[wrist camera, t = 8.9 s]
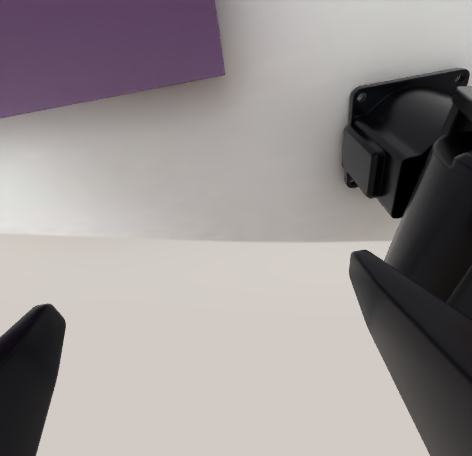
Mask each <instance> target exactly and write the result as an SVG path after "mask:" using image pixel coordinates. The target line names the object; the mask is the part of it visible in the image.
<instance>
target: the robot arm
mask: <svg viewBox="0 0 472 456" xmlns="http://www.w3.org/2000/svg"><path fill="white" fill-rule="evenodd" d="M459 75H460V78H459V80H458V81H456V82H455V80H456V78H457V77H458V76H459ZM469 75H470V74H469V71H468V70H466V69H463V68H455V69H449V70H444V71H439V72H433V73H428V74H423V75H417V76H412V77H407V78H402V79H396V80H391V81H386V82H380V83H375V84H370V85H364V86H359V87H357V88H355V89H354V90H353V92H352V93H351V97H350V109H349V123H348V125H347V126H346V128H345V129H344V140H343V156H342V166H343V167H344V168H345V179H344V180H345V183H346V185H347V186H348V187H350V188H356V187H360V189H361V190H362V191H363V193H364V194H365V195H366V196H367V197H368V198H370V199H372V198H376V199H377V200H378V201H379V202H380V203H381V205H382V206H383V207H384V208H385V210H386V211H387V212H388V213H389V214H390V216H391V217H392V218H402V219H401V222H400V224H399V226H398V229H397V231H396V234H395V236H394V238H393V241H392V243H391V245H390V247H389V250H388V252H387V255H386V257H385V260H384V261H383V260H381V259H380V258H378V257H377V256H375V255H374V254H372V253H371V252H369V251H367V250H360V251H354V252H352V253H351V257H350V267H349V275H350V279H351V282H352V285H353V288H354V291H355V293H356V296H357V299H358V302H359V305H360V308H361V310H362V313H363V316H364V319H365V322H366V324H367V327H368V329H369V331H370V333H371V335H372V337H373V340H374V342H375V344H376V346H377V348H378V350H379V352H380V354H381V356H382V358H383V360H384V362H385V364H386V366H387V368H388V370H389V372H390V374H391V376H392V378H393V380H394V382H395V385H396V387H397V389H398V391H399V393H400V395H401V397H402V399H403V401H404V403H405V405H406V407H407V409H408V411H409V413H410V415H411V417H412V419H413V421H414V423H415V425H416V427H417V429H418V432H419V433H420V436H421V438H422V440H423V442H424V444H425V446H426V448H427V450H428V452H429V454H430V456H472V86H467V83H468V80H469ZM360 93H363V94H364V95H363V97H362V98H361V99H360V100H357V97H358V95H359V94H360ZM352 179H353V180H354V181H353V182H350V181H351V180H352ZM65 328H66V323H65V320H64V318H63V317H62V316H61V314H60V313H59V312H58V311H57V310H56V309H55V307H54V306H53V305H51V304H42V305H37V306H35V307H33V308H32V309H31V310H30V311H29V312H28V313H27V314H25V315H24V316H23V317H22V318H21V319H20V320H19V321H18V322H17V323H15V324H14V325H13V326H12V327H11V328H10V329H9V330H8V331H7V332H6V333H5V334H3V335H2V336H1V337H0V456H36V453H37V450H38V446H39V442H40V439H41V435H42V431H43V428H44V424H45V420H46V416H47V413H48V409H49V406H50V402H51V398H52V394H53V391H54V387H55V383H56V380H57V375H58V370H59V364H60V359H61V353H62V346H63V340H64V334H65Z"/></svg>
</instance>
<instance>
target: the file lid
mask: <svg viewBox="0 0 472 456" xmlns="http://www.w3.org/2000/svg"><path fill="white" fill-rule="evenodd" d="M222 75H225V69H224V62H223V55H222V48H221V41H220V33H219V26H218V19H217V12H216V5H215V0H0V118H4V117H9V116H14V115H19V114H25V113H30V112H35V111H40V110H45V109H51V108H56V107H61V106H66V105H71V104H77V103H82V102H87V101H92V100H97V99H103V98H108V97H113V96H118V95H123V94H129V93H134V92H139V91H144V90H149V89H155V88H160V87H165V86H170V85H175V84H181V83H186V82H191V81H196V80H201V79H207V78H212V77H217V76H222Z"/></svg>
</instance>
